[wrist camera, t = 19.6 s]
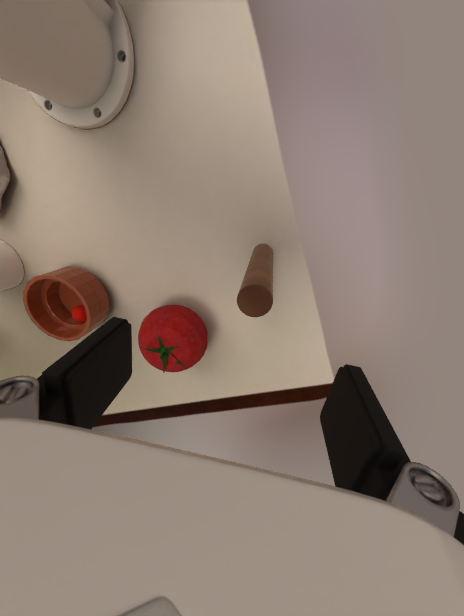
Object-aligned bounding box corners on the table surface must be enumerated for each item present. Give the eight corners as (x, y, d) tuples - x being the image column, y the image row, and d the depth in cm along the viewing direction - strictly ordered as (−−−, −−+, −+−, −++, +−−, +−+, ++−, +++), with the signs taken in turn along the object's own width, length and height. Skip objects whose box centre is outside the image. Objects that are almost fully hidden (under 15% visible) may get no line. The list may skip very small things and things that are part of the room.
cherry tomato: (69, 304, 34) (84, 311, 34) (82, 300, 36) (97, 307, 36) (65, 319, 35) (80, 326, 35) (79, 315, 37) (93, 322, 37)
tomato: (224, 339, 36) (212, 374, 29) (174, 360, 39) (151, 397, 31) (192, 285, 34) (169, 309, 26) (141, 311, 36) (108, 339, 29)
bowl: (68, 251, 34) (36, 259, 30) (123, 293, 36) (101, 307, 31) (45, 298, 38) (14, 311, 33) (96, 335, 39) (73, 353, 35)
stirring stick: (262, 239, 30) (253, 276, 16) (277, 253, 30) (280, 300, 17) (248, 254, 31) (229, 301, 17) (263, 267, 31) (255, 323, 18)
